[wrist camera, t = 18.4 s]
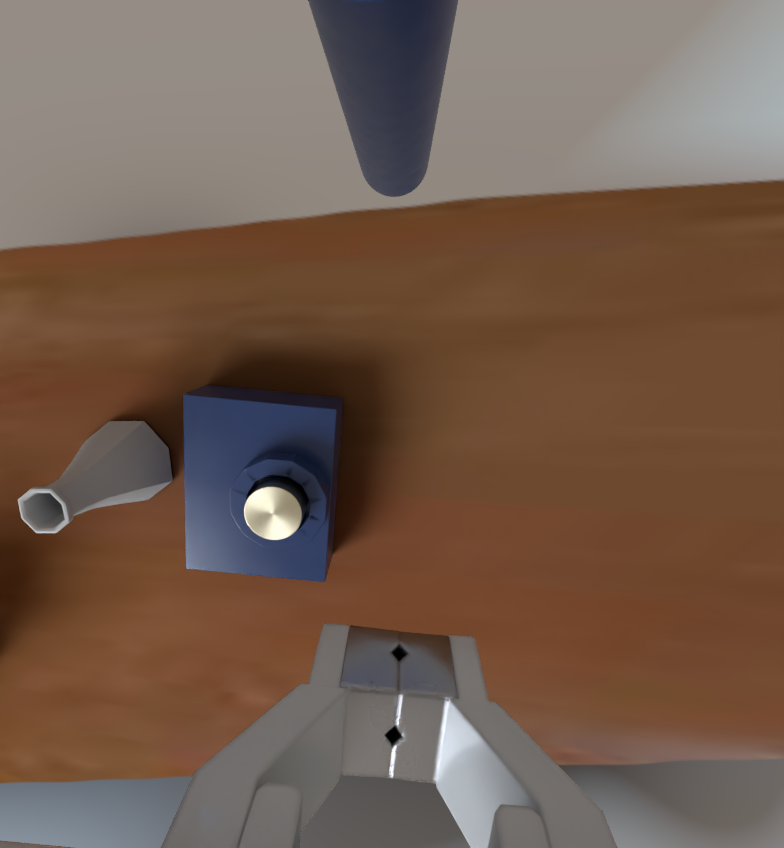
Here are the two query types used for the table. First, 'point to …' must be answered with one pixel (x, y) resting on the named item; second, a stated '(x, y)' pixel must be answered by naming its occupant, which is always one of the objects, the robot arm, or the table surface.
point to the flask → (101, 476)
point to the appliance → (259, 478)
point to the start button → (275, 508)
